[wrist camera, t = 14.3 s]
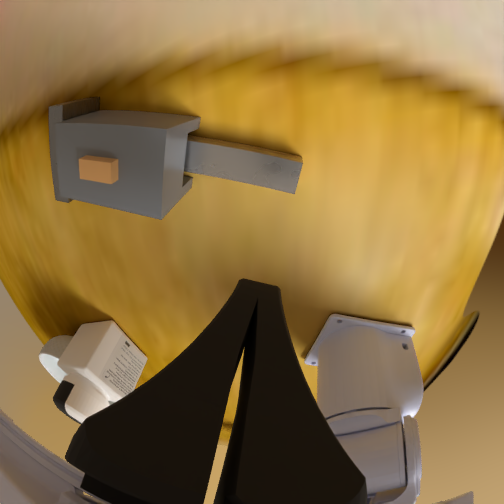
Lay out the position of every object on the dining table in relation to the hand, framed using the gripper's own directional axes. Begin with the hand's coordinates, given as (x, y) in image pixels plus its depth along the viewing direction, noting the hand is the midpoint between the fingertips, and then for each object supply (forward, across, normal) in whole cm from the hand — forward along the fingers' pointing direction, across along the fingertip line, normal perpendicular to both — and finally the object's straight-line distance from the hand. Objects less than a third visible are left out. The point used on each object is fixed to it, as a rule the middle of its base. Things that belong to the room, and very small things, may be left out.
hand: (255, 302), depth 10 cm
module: (+10, +10, -2) cm, 14 cm away
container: (+10, +16, +24) cm, 31 cm away
